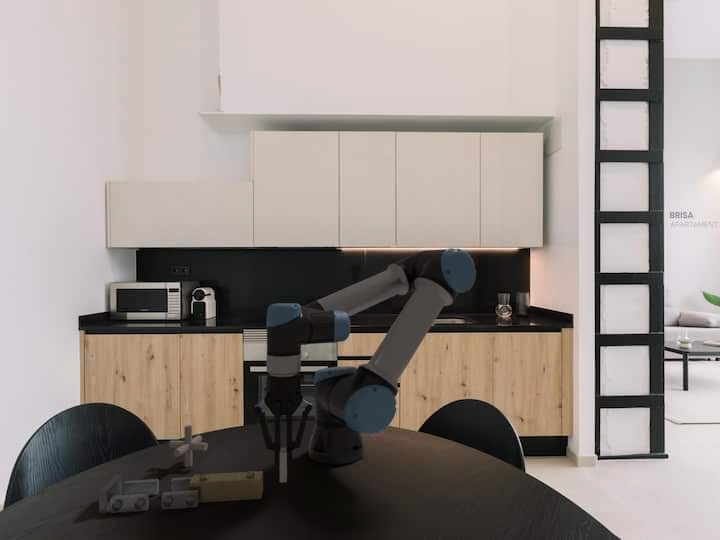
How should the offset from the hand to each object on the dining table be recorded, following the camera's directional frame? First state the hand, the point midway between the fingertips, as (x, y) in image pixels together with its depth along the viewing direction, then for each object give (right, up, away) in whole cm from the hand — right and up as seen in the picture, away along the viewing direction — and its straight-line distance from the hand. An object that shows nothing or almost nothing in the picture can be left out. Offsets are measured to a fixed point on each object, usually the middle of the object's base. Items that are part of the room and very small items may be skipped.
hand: (283, 479), depth 101 cm
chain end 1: (-32, -3, -4) cm, 32 cm away
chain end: (-21, -3, -2) cm, 21 cm away
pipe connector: (-27, -4, +15) cm, 31 cm away
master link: (-12, -3, -1) cm, 13 cm away
